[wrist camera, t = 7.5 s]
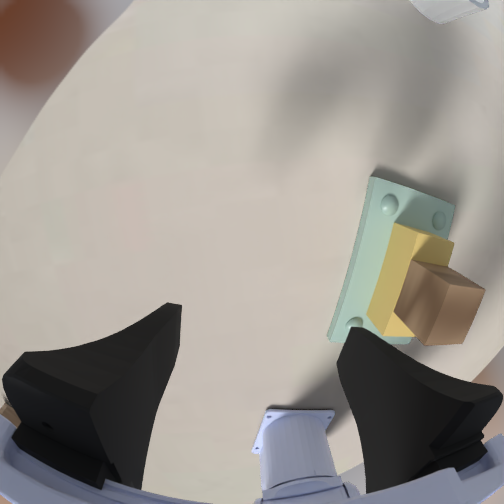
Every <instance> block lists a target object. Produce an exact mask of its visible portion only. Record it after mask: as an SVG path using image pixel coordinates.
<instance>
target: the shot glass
mask: <svg viewBox="0 0 504 504" xmlns="http://www.w3.org/2000/svg"><path fill="white" fill-rule="evenodd" d="M410 1H411V3H412V4H413V5H414V6H415V7H416V9H417V10H418V11H419V12H420V13H421V14H423V15H424V16H425V17H427V18H428V19H429V20H431V21H434V22H436V23H438V24H445V23H448V22H450V21H453V20H456V19H458V18H461V17H464V16H467V15H470V14H473V13H476V12H479V11H482V10H485V9H487V8H488V7H489V1H488V0H410Z"/></svg>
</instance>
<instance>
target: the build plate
mask: <svg viewBox="0 0 504 504" xmlns="http://www.w3.org/2000/svg"><path fill="white" fill-rule="evenodd" d="M454 209H455V205H453V204H451V203H448V202H446V201H443V200H441V199H438V198H436V197H433V196H430V195H428V194H425V193H422V192H419V191H417V190H414V189H411V188H408V187H405V186H402V185H399V184H396V183H393V182H390V181H387V180H384V179H381V178H378V177H371V176H370V178H369V183H368V188H367V193H366V198H365V203H364V208H363V212H362V217H361V221H360V225H359V229H358V233H357V237H356V241H355V245H354V249H353V253H352V257H351V260H350V264H349V268H348V271H347V275H346V278H345V281H344V285H343V288H342V291H341V295H340V298H339V301H338V304H337V307H336V310H335V313H334V316H333V319H332V322H331V325H330V328H329V331H328V334H327V337H328V339H329V341H330V342H340V343H345V341H346V338H347V336H348V333H349V331H350V328H351V327H363V328H365V329H367V330H369V331H371V332H372V333H374V334H375V335H377V336H378V337H380V338H381V339H383V340H384V341H386V342H387V343H389V344H409V343H410V341H411V339H412V337H394V336H382V335H381V333H380V332H379V331H378V329H377V328H376V327H375V325H374V324H373V323H372V322H371V320H370V319H369V318H368V316H367V315H366V313H367V310H368V307H369V304H370V301H371V299H372V296H373V293H374V290H375V287H376V284H377V281H378V277H379V274H380V271H381V268H382V264H383V261H384V258H385V254H386V251H387V247H388V243H389V240H390V236H391V232H392V228H393V224H394V223H398V224H402V225H405V226H409V227H413V228H416V229H420V230H423V231H427V232H430V233H432V234H435V235H437V236H440V237H442V238H444V239H448V235H449V231H450V227H451V223H452V219H453V214H454Z"/></svg>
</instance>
